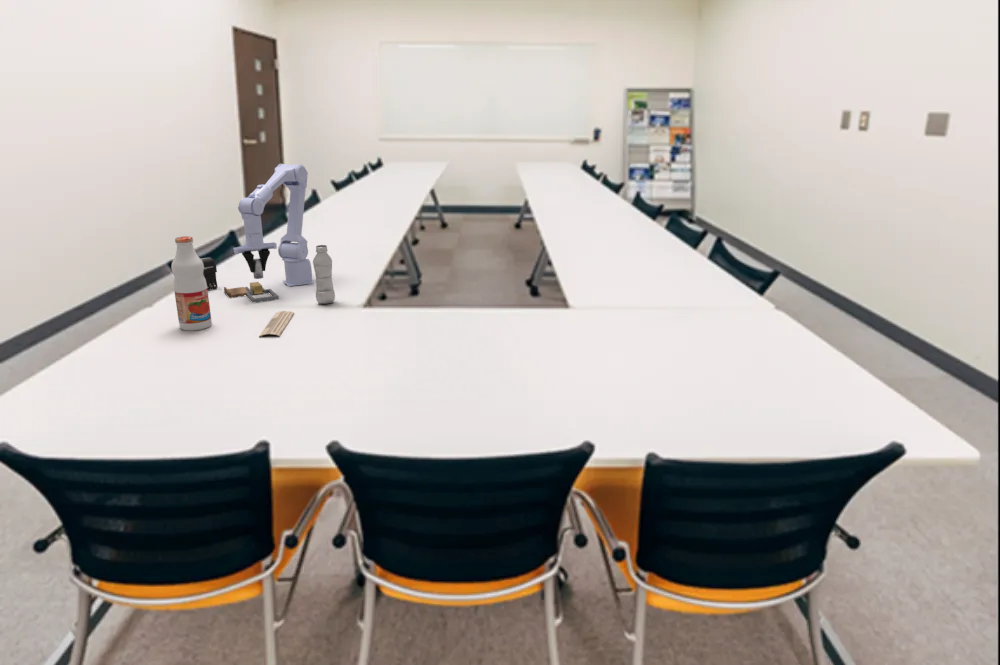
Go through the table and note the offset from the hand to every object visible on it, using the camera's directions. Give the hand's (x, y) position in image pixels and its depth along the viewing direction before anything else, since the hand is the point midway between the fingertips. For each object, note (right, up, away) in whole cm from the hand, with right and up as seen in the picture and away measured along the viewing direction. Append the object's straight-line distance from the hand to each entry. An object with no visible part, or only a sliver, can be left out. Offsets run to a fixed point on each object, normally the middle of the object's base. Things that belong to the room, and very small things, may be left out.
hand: (257, 271), depth 258 cm
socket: (-2, -8, +6) cm, 10 cm away
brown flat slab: (-10, -7, +7) cm, 14 cm away
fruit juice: (-10, -20, -29) cm, 36 cm away
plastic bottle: (+25, -12, -4) cm, 28 cm away
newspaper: (+15, -20, -27) cm, 37 cm away
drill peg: (0, -2, +1) cm, 2 cm away
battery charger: (-22, -6, +13) cm, 26 cm away
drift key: (-3, -7, +9) cm, 12 cm away
